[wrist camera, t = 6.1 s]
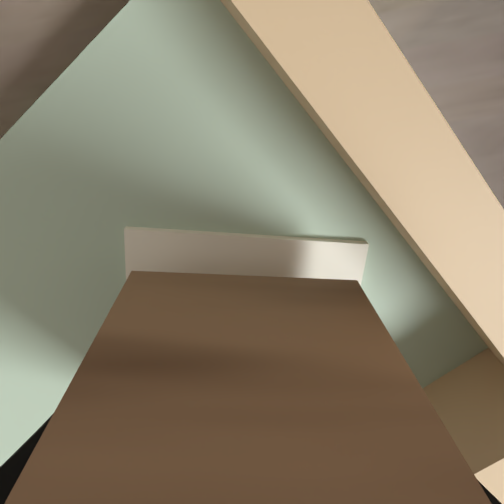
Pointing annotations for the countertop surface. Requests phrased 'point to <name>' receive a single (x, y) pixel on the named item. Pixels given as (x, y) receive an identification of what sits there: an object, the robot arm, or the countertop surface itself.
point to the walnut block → (244, 403)
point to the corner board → (250, 196)
